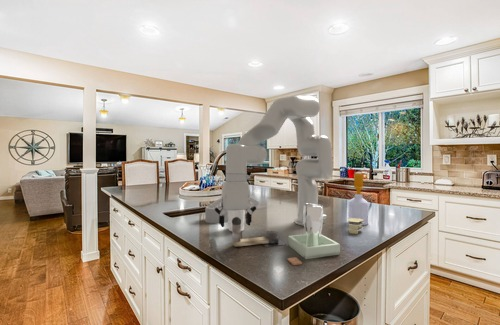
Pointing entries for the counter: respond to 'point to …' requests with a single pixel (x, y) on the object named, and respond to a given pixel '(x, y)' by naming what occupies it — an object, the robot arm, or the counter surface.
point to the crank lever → (237, 241)
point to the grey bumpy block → (214, 214)
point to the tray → (313, 247)
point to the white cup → (236, 214)
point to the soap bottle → (358, 201)
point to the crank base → (292, 260)
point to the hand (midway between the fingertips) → (235, 225)
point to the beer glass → (313, 223)
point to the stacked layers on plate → (355, 225)
